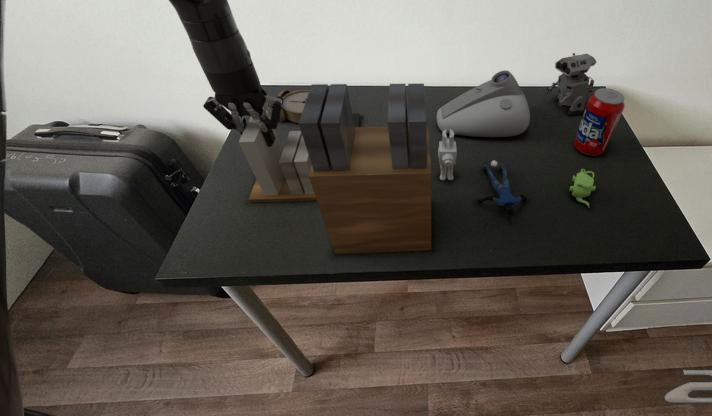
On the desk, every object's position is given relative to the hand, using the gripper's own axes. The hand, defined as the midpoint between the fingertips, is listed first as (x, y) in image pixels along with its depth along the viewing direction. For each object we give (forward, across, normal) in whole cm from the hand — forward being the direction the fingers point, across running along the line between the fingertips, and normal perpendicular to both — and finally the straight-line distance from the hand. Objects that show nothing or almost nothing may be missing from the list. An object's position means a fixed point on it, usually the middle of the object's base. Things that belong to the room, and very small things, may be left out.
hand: (262, 144), depth 73 cm
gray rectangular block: (+10, 0, 0) cm, 10 cm away
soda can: (+11, +74, +9) cm, 75 cm away
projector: (+11, +48, +20) cm, 53 cm away
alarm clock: (+11, -1, +27) cm, 29 cm away
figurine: (+11, +72, +28) cm, 78 cm away
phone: (+11, +12, +18) cm, 24 cm away
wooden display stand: (+11, +2, 0) cm, 11 cm away
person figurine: (+11, +48, -6) cm, 50 cm away
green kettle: (+11, +66, -7) cm, 67 cm away
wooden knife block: (+11, +24, -14) cm, 30 cm away
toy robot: (+11, +37, +1) cm, 39 cm away
